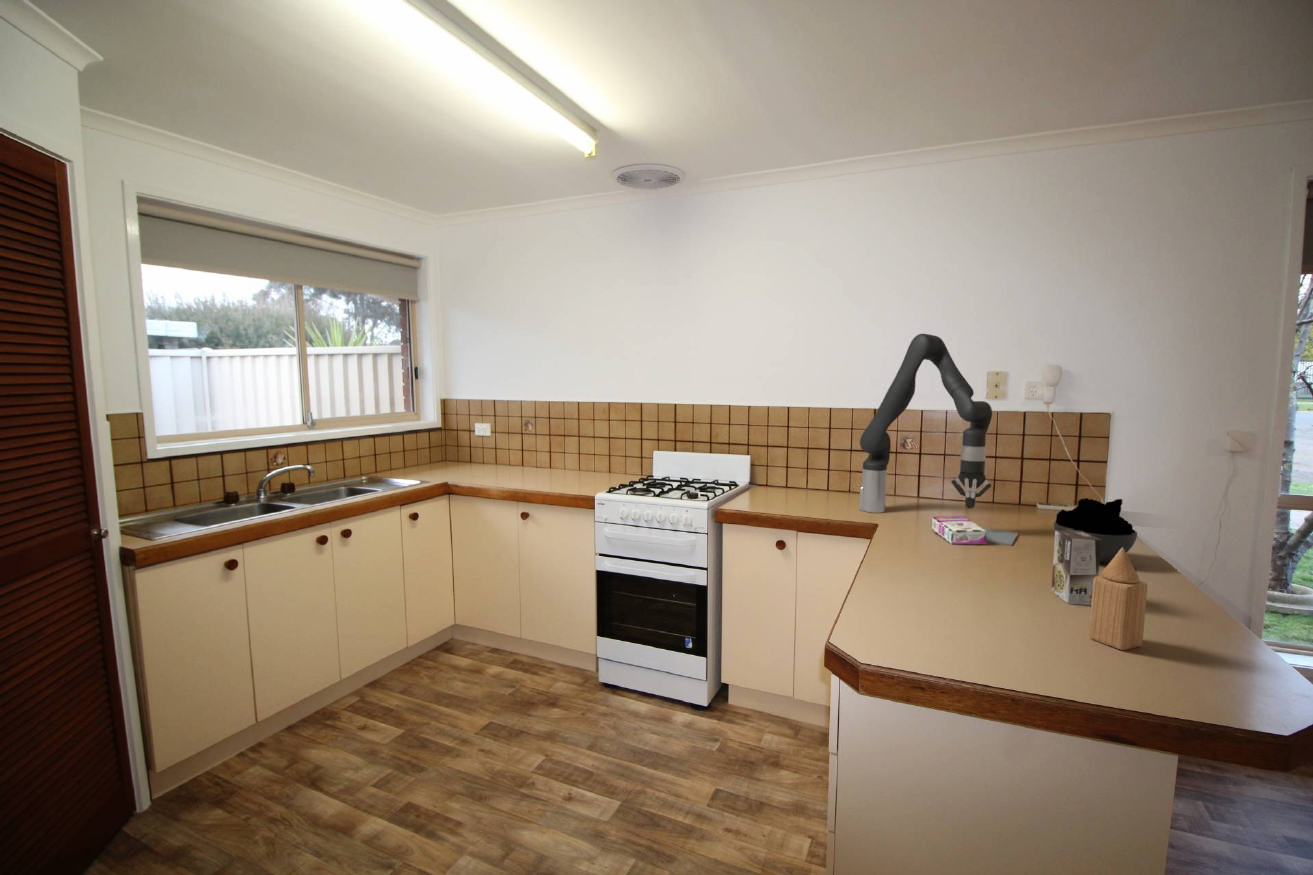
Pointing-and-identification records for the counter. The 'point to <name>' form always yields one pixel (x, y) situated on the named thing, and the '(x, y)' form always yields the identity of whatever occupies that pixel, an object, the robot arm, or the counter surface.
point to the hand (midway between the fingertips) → (970, 508)
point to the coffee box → (1075, 565)
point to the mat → (1000, 536)
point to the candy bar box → (958, 530)
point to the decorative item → (1118, 605)
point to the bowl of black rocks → (1099, 525)
